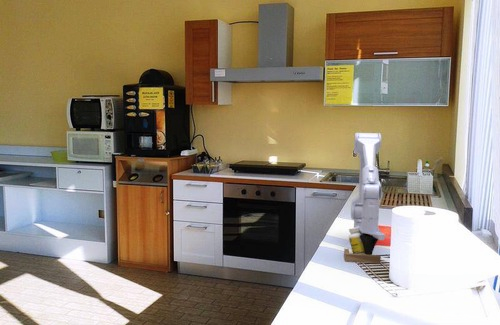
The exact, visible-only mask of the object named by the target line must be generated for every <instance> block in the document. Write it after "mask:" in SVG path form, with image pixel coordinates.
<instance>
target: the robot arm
mask: <svg viewBox="0 0 500 325" xmlns="http://www.w3.org/2000/svg"><path fill="white" fill-rule="evenodd" d="M381 148H382V134H381V133H380V132H377V133H375V132H355V134H354V139H353V151H354V154H356V155H358V158H359V178H358V180H359V182H358V195H357V196H356V197H354V198H353V199H352V200H351V206H350V218H351V220H353V228H354V227H360V228H359V230H360V232H362V233H363V235H360V239H361V241H362V243H363V246H364V251H365V254H367V255H373V252H374V249H375V247H376V245H377V243H378V241H384V240H386V234H385V233H383V232H381V228H379V219H380V218H379V216H380V215H379V213H380V201H381V200H382V199H381V198H382V192H383V191H382V184H381V181H380V178H379V176H380V175H379V169H378V167H377V166H375V164H376V162H375V161H376V155H378V153H379V151H380V149H381Z"/></svg>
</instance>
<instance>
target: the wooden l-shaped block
mask: <svg viewBox="0 0 500 325" xmlns="http://www.w3.org/2000/svg"><path fill="white" fill-rule="evenodd" d="M343 255H344V262H348V263H364V264H381V261H382V257H381V254H379V255H378V254H372V255H367V254H353V253H350V249H349V248H344V252H343Z"/></svg>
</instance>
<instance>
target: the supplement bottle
mask: <svg viewBox="0 0 500 325" xmlns="http://www.w3.org/2000/svg"><path fill="white" fill-rule="evenodd" d="M359 228H360V227H354V226H353V227H350V228H349V229H348V231H349V232H348V233H350V234H349V236H348V240H349V243H350V247H351V253H352V254H365V251H364V246H363V243H362V241H361V239H360V235H363V233H362V232H360V230H359Z"/></svg>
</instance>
